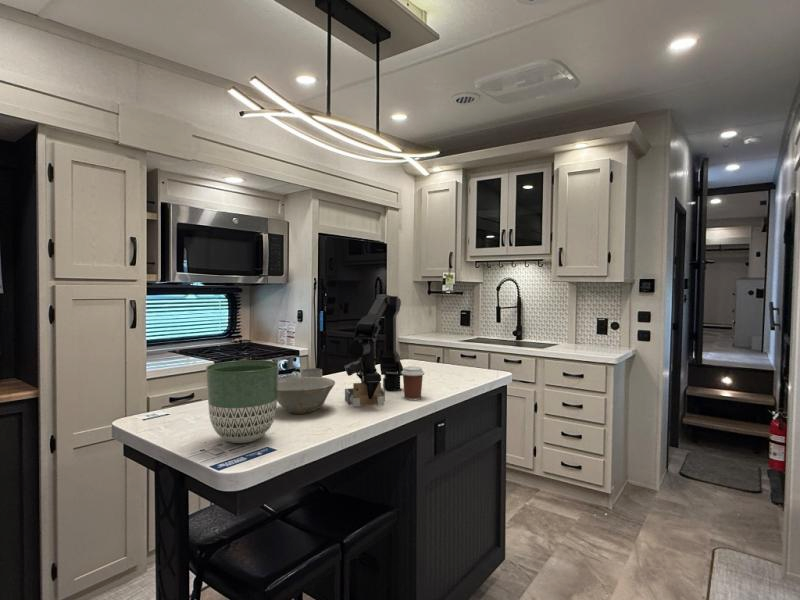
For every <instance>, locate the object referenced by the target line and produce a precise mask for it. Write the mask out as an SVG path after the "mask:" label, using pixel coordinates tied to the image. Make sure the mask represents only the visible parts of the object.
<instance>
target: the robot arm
mask: <svg viewBox="0 0 800 600" xmlns="http://www.w3.org/2000/svg"><path fill="white" fill-rule="evenodd" d="M375 296H376V297H375V300H374V302H373V304H372V306H371V308H370V310H369V311H368V313H367V315H365V316H363V317H361V319H360V320H359V321H358V323H357V325H356V327H355V331H354V335H353V337H352V338H353V339H352V340H353V342H352V343H351V344H350V345H349V348H348V353H349V355H350V356H351V358H354V359H358V360H357V361H352V362H350V363H348V364H346V365H344V366H343V368H344V369H345V372H346V375H347V376H348V377H349V376H350V377H351V376H353V374H355V375H356V376H357V377H358V378H359V379H360V383H365V384H366V387H367V393H368V399H372V397H373V395H374V393H375V390H376V388H377V386H378V384H379V383H381V381H382V387H383V388H382V389H383V390H384V391H385V392H386V391H388V392H391V391H402V388H401V377H403V375H402V374H401V372H402V371H403V370H404V367H403V364H402V362H401V356H400V354H399V353H398V352H397V315H398V314H399V312H400V309H401V306H402V305H401V304H402V301H401V299H400V297H399V296H398V295H389V294H387V293H386V294H384V293H383V294H376V295H375ZM382 316H383V317H384V352H383V354H382V355H381V356H380V363H379V370H380V373H379V372H378V370H377V368H376V361H378V360H377V359H378V358H377V357H376V341H377V336H378V334H379V332H380V324H379V322H380V320H381V317H382ZM382 376H384V377H383V378H382Z"/></svg>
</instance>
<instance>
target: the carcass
mask: <svg viewBox="0 0 800 600" xmlns="http://www.w3.org/2000/svg"><path fill="white" fill-rule="evenodd" d="M385 393H386V390H385V389H384V388H382V387H381V397H377V404H376V406H384V405H385V401H386V399H385V398H386V397H385V396H386V395H385ZM344 400H345V402H346V403H347V404H348V405H352V407H354V408H355V407H361V406H360V398H353V387H350V388H344Z"/></svg>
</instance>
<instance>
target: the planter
mask: <svg viewBox="0 0 800 600" xmlns="http://www.w3.org/2000/svg"><path fill="white" fill-rule="evenodd" d="M279 368H280V365H279V363H278V362H275V361H271V360H263V359H262V360H260V359H257V360H256V359H244V360H231V361H224V362H217V363H212V364H209V365H207V366H206V367H205V374H206V375H205V376H206V377H205V378H206V389H207V403H208V404H207V405H208V414H209V419H210V423H211V426H212V428H213V429H214V431H215V433H216V434H217V435H218V436H219V437H220V438H222V439H223V440H224V441H227V442H229V443H231V444H232V443H234V444H246V443H247V444H248V443H252V442H255V441H256V440H259V439H260V438H262V437H263V436H264V435H265V434H266V433H268V432H269V430H270V428H271V427H272V425H273V423H274V422H275V417H276V414H277V413H276V412H277V408H278V407H277V406H278V405H277V403H278V402H277V391H278V380H279Z"/></svg>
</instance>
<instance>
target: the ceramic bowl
mask: <svg viewBox="0 0 800 600" xmlns="http://www.w3.org/2000/svg"><path fill="white" fill-rule="evenodd" d="M335 384H336V381H335V380H333V379H332V378H329V377H323V376H322V377H301V376H293V377H292V376H291V377H286V378H285V377H284V378H280V379H279V378H278V391H277V403H278V404H279V405H280V406H281V407H283V408H284V409H285V410H286V411H287V412H289V413H291V414H295V415H298V414H299V415H304V414H307V413H310V412H314V411H316V410H318V409H320V408H321V407H322V406H324V404H325V401H326V400H327V397H328V396H329V394H330V392H331V390H332V389H333V388H334V386H335Z"/></svg>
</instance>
